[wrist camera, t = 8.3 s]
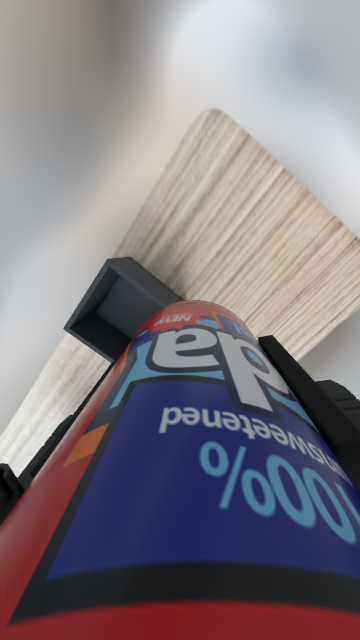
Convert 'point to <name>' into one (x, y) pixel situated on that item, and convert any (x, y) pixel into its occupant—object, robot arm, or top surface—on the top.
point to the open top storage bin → (118, 307)
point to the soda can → (186, 504)
